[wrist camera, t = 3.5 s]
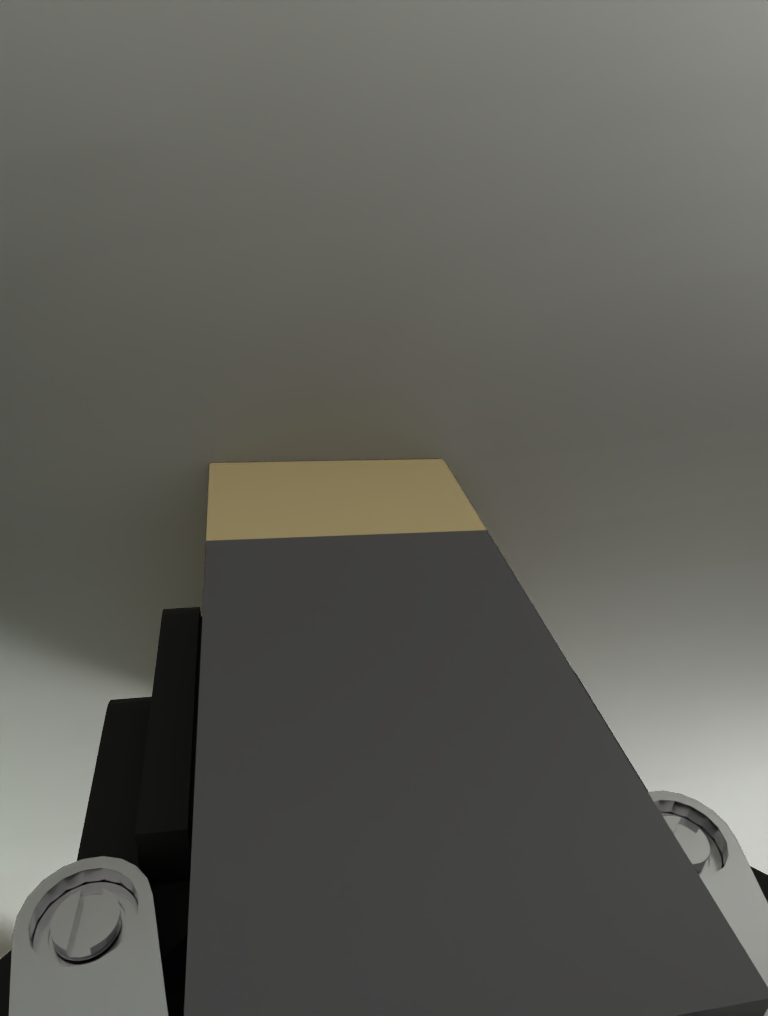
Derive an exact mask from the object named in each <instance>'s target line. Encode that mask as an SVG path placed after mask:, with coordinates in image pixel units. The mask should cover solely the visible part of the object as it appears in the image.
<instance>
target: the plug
mask: <svg viewBox="0 0 768 1016" xmlns="http://www.w3.org/2000/svg"><path fill="white" fill-rule="evenodd" d="M767 1009H768V987H767V985H766V983H765V982H764V980H763V979H762V977H761V975H760V974H759V972H758V970H757V969H756V967H755V966H754V964H753V962H752V961H751V959H750V957H749V956H748V954H747V953H746V951H745V949H744V948H743V946H742V944H741V943H740V941H739V940H738V938H737V936H736V935H735V933H734V931H733V930H732V928H731V926H730V925H729V923H728V922H727V920H726V918H725V917H724V915H723V913H722V912H721V910H720V909H719V907H718V905H717V904H716V902H715V900H714V899H713V897H712V896H711V894H710V892H709V891H708V889H707V887H706V886H705V884H704V883H703V881H702V879H701V878H700V876H699V874H698V873H697V871H696V870H695V868H694V866H693V865H692V863H691V861H690V860H689V858H688V857H687V855H686V853H685V852H684V850H683V848H682V847H681V845H680V844H679V842H678V840H677V839H676V837H675V835H674V834H673V832H672V830H671V829H670V827H669V826H668V824H667V822H666V821H665V819H664V817H663V816H662V814H661V813H660V811H659V809H658V808H657V806H656V804H655V803H654V801H653V800H652V798H651V796H650V795H649V793H648V791H647V790H646V788H645V787H644V785H643V783H642V782H641V780H640V778H639V777H638V775H637V774H636V772H635V770H634V769H633V767H632V765H631V764H630V762H629V761H628V759H627V757H626V756H625V754H624V752H623V751H622V749H621V748H620V746H619V744H618V743H617V741H616V739H615V738H614V736H613V734H612V733H611V731H610V730H609V728H608V726H607V725H606V723H605V721H604V720H603V718H602V717H601V715H600V713H599V712H598V710H597V708H596V707H595V705H594V704H593V702H592V700H591V699H590V697H589V695H588V694H587V692H586V691H585V689H584V687H583V686H582V684H581V682H580V681H579V679H578V678H577V676H576V674H575V673H574V671H573V669H572V668H571V666H570V665H569V663H568V661H567V660H566V658H565V656H564V655H563V653H562V652H561V650H560V648H559V647H558V645H557V643H556V642H555V640H554V639H553V637H552V635H551V634H550V632H549V630H548V629H547V627H546V625H545V624H544V622H543V621H542V619H541V617H540V616H539V614H538V612H537V611H536V609H535V608H534V606H533V604H532V603H531V601H530V599H529V598H528V596H527V595H526V593H525V591H524V590H523V588H522V586H521V585H520V583H519V582H518V580H517V578H516V577H515V575H514V573H513V572H512V570H511V569H510V567H509V565H508V564H507V562H506V560H505V559H504V557H503V556H502V554H501V552H500V551H499V549H498V547H497V546H496V544H495V543H494V541H493V539H492V538H491V536H490V534H489V533H488V531H487V529H486V528H485V526H484V525H483V523H482V521H481V520H480V518H479V516H478V515H477V513H476V512H475V510H474V508H473V507H472V505H471V503H470V502H469V500H468V499H467V497H466V495H465V494H464V492H463V490H462V489H461V487H460V486H459V484H458V482H457V481H456V479H455V477H454V476H453V474H452V473H451V471H450V469H449V468H448V466H447V464H446V463H445V461H444V460H443V459H408V460H352V461H295V462H239V463H210V466H209V487H208V509H207V530H206V552H205V573H204V595H203V616H202V637H201V659H200V680H199V702H198V723H197V745H196V766H195V787H194V809H193V830H192V852H191V873H190V894H189V916H188V937H187V959H186V980H185V1002H184V1016H764V1014H765V1012H766V1011H767Z"/></svg>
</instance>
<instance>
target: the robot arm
mask: <svg viewBox="0 0 768 1016" xmlns="http://www.w3.org/2000/svg"><path fill="white" fill-rule="evenodd" d="M201 637H202V616H201V612H200V607H193V608H175V609H164V610H163V613H162V620H161V628H160V636H159V645H158V653H157V661H156V669H155V677H154V685H153V693H152V697H143V698H130V699H118V700H110V702H109V704H108V707H107V711H106V716H105V721H104V726H103V731H102V736H101V741H100V746H99V751H98V756H97V761H96V767H95V772H94V777H93V782H92V787H91V792H90V797H89V802H88V807H87V812H86V817H85V823H84V828H83V833H82V838H81V843H80V848H79V853H78V858H77V862H74V863H72V864H69V865H67V866H64V867H62V868H60V869H59V870H57V871H56V872H54V873H53V874H51V875H50V876H49V877H47V878H46V879H44V880H43V881H42V882H41V883H40V884H39V885H38V886H37V887H36V888H35V889H34V890H33V892H32V893H31V894H30V895H29V896H28V897H27V899H26V900H25V902H24V904H23V906H22V908H21V909H20V911H19V913H18V915H17V917H16V922H15V926H14V931H13V935H12V950H11V951H10V952H9V953H8V954H6V955H5V956H4V957H3V958H2V959H1V960H0V1016H184V1002H185V980H186V959H187V937H188V916H189V894H190V873H191V852H192V830H193V809H194V787H195V766H196V745H197V723H198V702H199V680H200V659H201ZM574 673H575V672H574ZM575 674H576V673H575ZM576 676H577V675H576ZM577 678H578V676H577ZM578 679H579V678H578ZM579 681H580V680H579ZM580 682H581V681H580ZM581 684H582V683H581ZM582 686H583V684H582ZM583 687H584V686H583ZM584 689H585V688H584ZM585 691H586V689H585ZM586 692H587V691H586ZM587 694H588V693H587ZM588 695H589V694H588ZM589 697H590V696H589ZM590 699H591V697H590ZM591 700H592V699H591ZM592 702H593V701H592ZM593 704H594V702H593ZM594 705H595V704H594ZM595 707H596V706H595ZM596 708H597V707H596ZM597 710H598V709H597ZM598 712H599V711H598ZM599 713H600V712H599ZM600 715H601V714H600ZM601 717H602V715H601ZM602 718H603V717H602ZM603 720H604V719H603ZM604 721H605V720H604ZM605 723H606V722H605ZM606 725H607V724H606ZM607 726H608V725H607ZM608 728H609V727H608ZM609 730H610V728H609ZM610 731H611V730H610ZM611 733H612V732H611ZM612 734H613V733H612ZM613 736H614V735H613ZM614 738H615V737H614ZM615 739H616V738H615ZM616 741H617V740H616ZM617 743H618V741H617ZM618 744H619V743H618ZM619 746H620V745H619ZM620 748H621V746H620ZM621 749H622V748H621ZM622 751H623V750H622ZM623 752H624V751H623ZM624 754H625V753H624ZM625 756H626V754H625ZM626 757H627V756H626ZM627 759H628V758H627ZM628 761H629V759H628ZM629 762H630V761H629ZM630 764H631V763H630ZM631 765H632V764H631ZM632 767H633V766H632ZM633 769H634V768H633ZM634 770H635V769H634ZM635 772H636V771H635ZM636 774H637V772H636ZM637 775H638V774H637ZM638 777H639V776H638ZM639 778H640V777H639ZM640 780H641V779H640ZM641 782H642V781H641ZM642 783H643V782H642ZM643 785H644V784H643ZM644 787H645V785H644ZM645 788H646V787H645ZM646 790H647V789H646ZM647 791H648V790H647ZM648 793H649V795H650V796H651V798H652V800H653V801H654V803H655V804H656V806H657V808H658V809H659V811H660V813H661V814H662V816H663V817H664V819H665V821H666V822H667V824H668V826H669V827H670V829H671V830H672V832H673V834H674V835H675V837H676V839H677V840H678V842H679V844H680V845H681V847H682V848H683V850H684V852H685V853H686V855H687V857H688V858H689V860H690V861H691V863H692V865H693V866H694V868H695V870H696V871H697V873H698V874H699V876H700V878H701V879H702V881H703V883H704V884H705V886H706V887H707V889H708V891H709V892H710V894H711V896H712V897H713V899H714V900H715V902H716V904H717V905H718V907H719V909H720V910H721V912H722V913H723V915H724V917H725V918H726V920H727V922H728V923H729V925H730V926H731V928H732V930H733V931H734V933H735V935H736V936H737V938H738V940H739V941H740V943H741V944H742V946H743V948H744V949H745V951H746V953H747V954H748V956H749V957H750V959H751V961H752V962H753V964H754V966H755V967H756V969H757V970H758V972H759V974H760V975H761V977H762V979H763V980H764V982H765V983H766V985H767V987H768V875H766V874H764V873H762V872H761V871H759V870H757V869H755V868H753V867H751V866H750V865H749V863H748V861H747V859H746V857H745V855H744V853H743V851H742V849H741V847H740V845H739V843H738V841H737V839H736V837H735V836H734V834H733V833H732V831H731V830H730V828H729V826H728V825H727V824H726V823H725V822H724V821H723V820H722V819H721V818H720V817H719V816H718V815H717V814H716V813H715V812H714V811H713V810H711V809H710V808H708V807H707V806H705V805H703V804H702V803H700V802H699V801H697V800H695V799H692V798H690V797H687V796H685V795H682V794H679V793H674V792H668V791H655V792H648ZM764 1016H768V1009H767V1011H766V1012H765V1014H764Z"/></svg>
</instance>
